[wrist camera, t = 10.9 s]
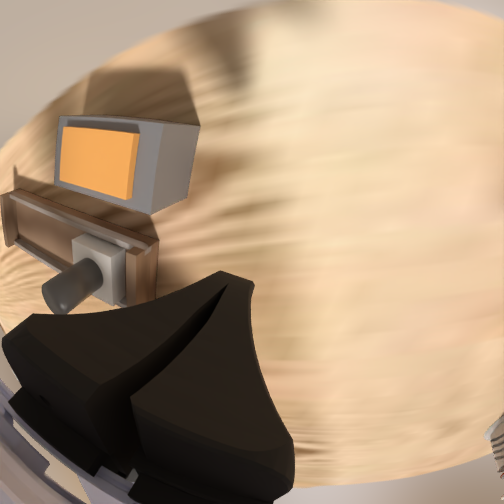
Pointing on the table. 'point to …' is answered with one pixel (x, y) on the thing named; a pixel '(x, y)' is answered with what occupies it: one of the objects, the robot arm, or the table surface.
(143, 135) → the box
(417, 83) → the table surface
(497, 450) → the french press
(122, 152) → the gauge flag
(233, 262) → the table surface
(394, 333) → the table surface
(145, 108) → the table surface
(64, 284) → the carriage
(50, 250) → the rail
